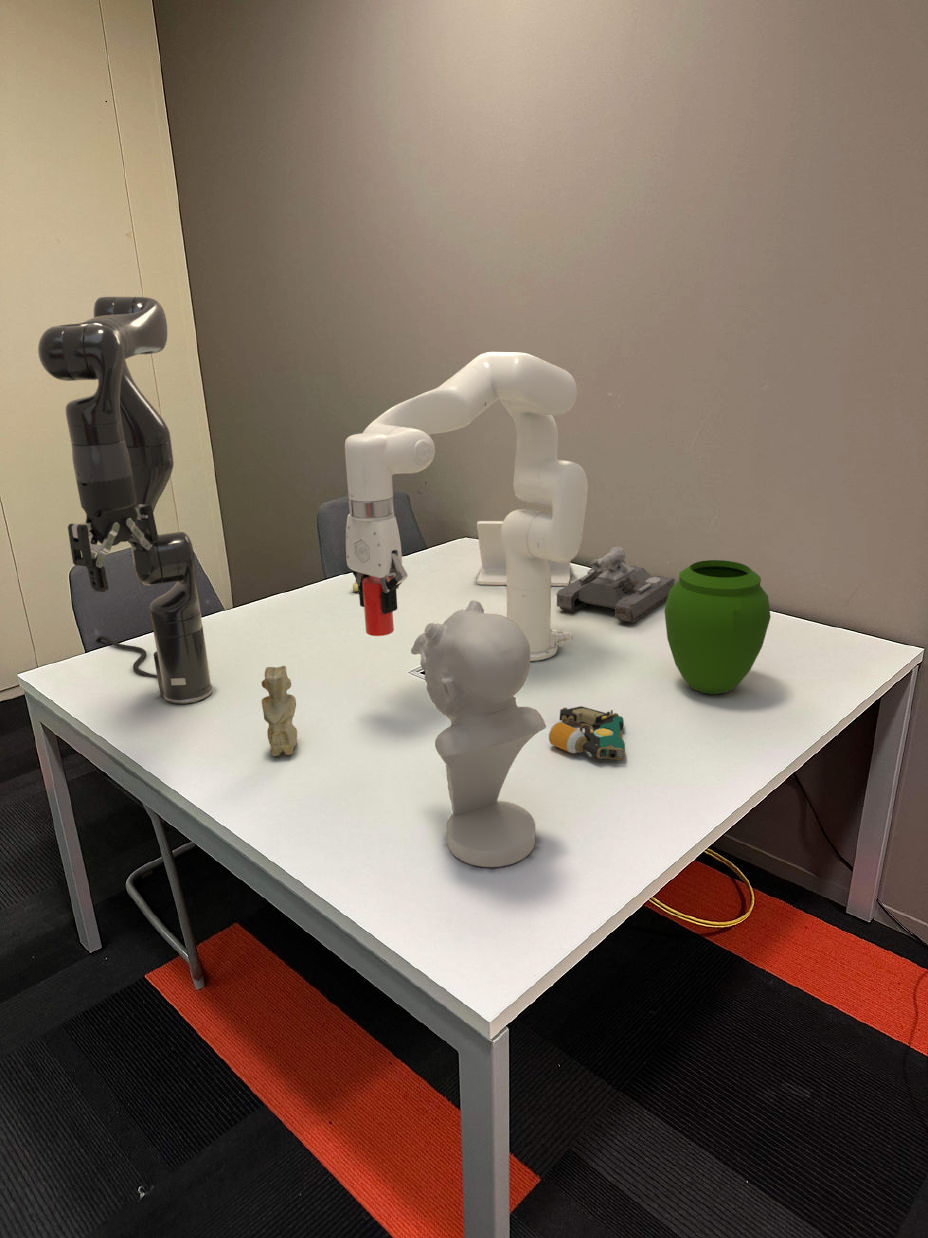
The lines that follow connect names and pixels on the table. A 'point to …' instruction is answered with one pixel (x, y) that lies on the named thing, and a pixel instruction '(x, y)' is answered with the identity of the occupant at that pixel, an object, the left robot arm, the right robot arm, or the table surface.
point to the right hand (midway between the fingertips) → (378, 607)
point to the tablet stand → (496, 561)
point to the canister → (375, 608)
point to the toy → (616, 588)
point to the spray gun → (589, 733)
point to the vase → (716, 623)
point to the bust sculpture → (481, 729)
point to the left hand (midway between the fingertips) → (123, 582)
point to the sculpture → (279, 711)
